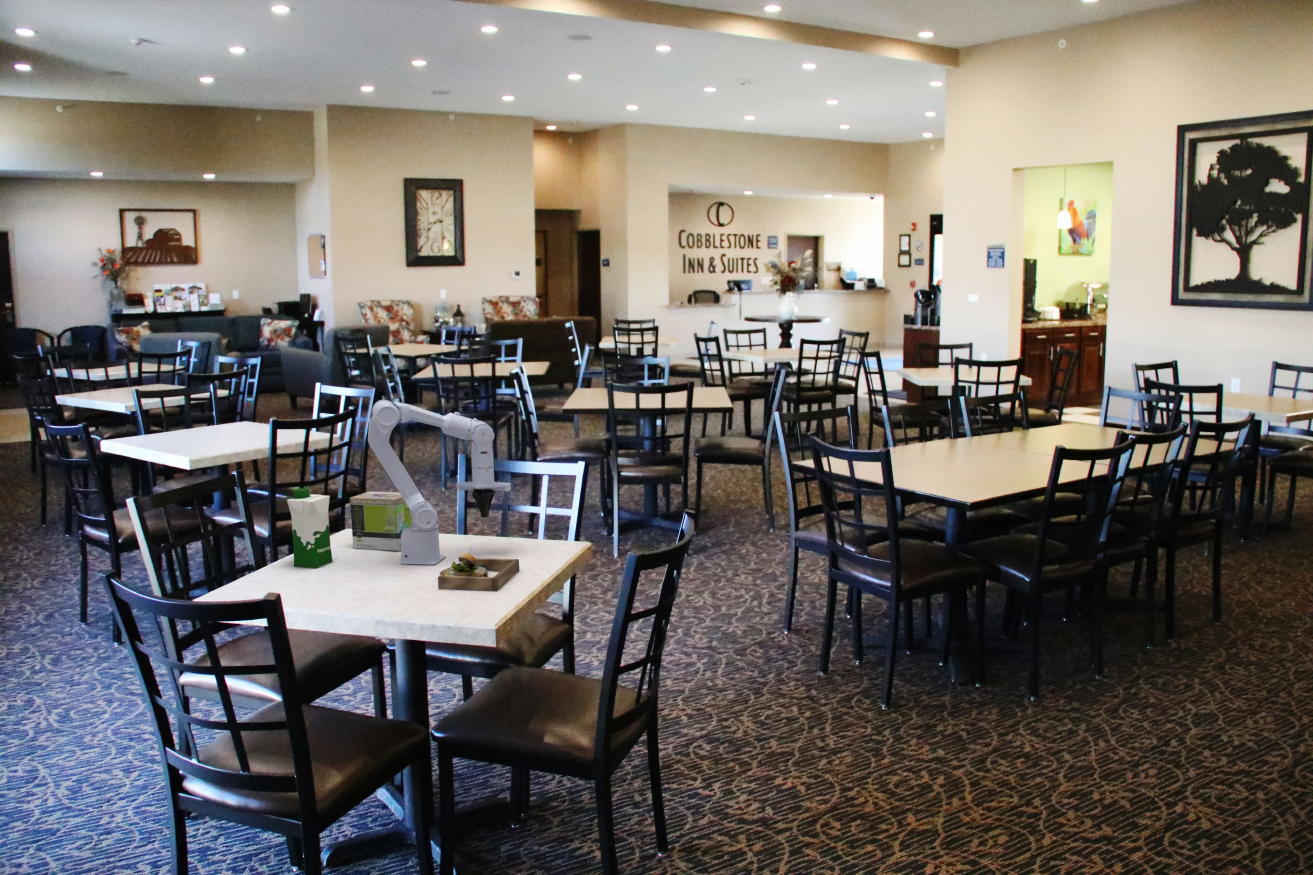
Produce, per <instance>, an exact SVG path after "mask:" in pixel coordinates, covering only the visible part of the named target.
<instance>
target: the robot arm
mask: <svg viewBox="0 0 1313 875" xmlns="http://www.w3.org/2000/svg"><path fill="white" fill-rule="evenodd" d="M409 421H415V422H419V423H423V424H426V425H430V426H434V427H438V428H440V429H441V430H442V433H443V434H445V435H446V436H447V435H448V436H451V437H454V438H458V439H462V440H465V441H470V440H471V441H470V442H471V443H470V444H471V450H470V455H471V456H470V457H471V459H470V460H471V478H472V481H459V482H457V483H456V491H472V493H471V496H472V498H473V499H474V501H475V502H476V505H477V507H478V510H479V513H480V518H482V519H483V518H489V516H490V510H491V505H492V502H493V499H494V496H495V495H496V492H497V491H499V492H500V491H501V492H502V491H504V492H510V491H511V489H512V483H511V482H501V481H495V472H494V471H495V469H494V467H495V464H494V449H493V441H494V439H495V433H494V430H493V428H492V427H491V426H490V425H489V424H487V423H486V422H485V421H482V420H478V419H477V418H476V417H473V419H472V418H470V417H467V416H462V415H461V413H460V412H458V411H455V412H454V413H452V412H449V413H447V414H445V415H441V414H439V413H436V412H432V411H431V410H426V409H424V408H421V407H418V406H415V405H412V404H409V403H404V402H398V401H393V402H392V401H391V400H388V399H380V400H378V401H376V402H375V403H374V405H373V406H372V408H371V410H370V412H369V414H368V430H367V431H368V433H367V434H368V435H367V436H368V437H367V443H368V445H369V447H370V448H371V449H372V451H373V453H374V455H376V457H377V459H378V461H379V463H380V465H382V467H383V469H384V470H385V472H386V473H387V475H388V477H389V478H390V480H391V481H392V483H393V485H394V486H395V487H396V489H397V491H398V492H399V493H400V494H401V496H402V497H403V499H404V501H405V502H406V504H407V505H408V507H409V510H410V516H411V518H412V519H413V521H414V522H413V523H412V525H411V526H410V528H405V529H404V530H403V531H402V534H401V550H400V551H401V552H400V553H401V561H400V564H401V565H427V566H428V565H430V566H433V565H436V564H438V563H439V562H441V561H442V560H443V559H445V558H446V555H444V554H441V552H440V537H439V536H440V535H439V531H440V530H439V524H437V523H438V521H439V516H438V515H439V514H438V512H437V511H436V509H435V508H434V507H433V505H432V503H431V502H430V501H427V500H426V499H424V497H423V495H422V494H421V492H420V491H419V489H418V488H417V485H416V484H415V482H414V481H413V479H412V478H411V476H410V475H409V473H408V471H407V469H406V468H405V466H404V465H403V463H402V462H401V460H400V459H399V457H398V455H397V454H396V452H395V450H394V449H393V447H392V445H391V443H390V437H391V435H392V431H393V430H394V428H395V427H396V425H397V424H398V423H399V422H400V423H401V424H403V423H406V422H409Z"/></svg>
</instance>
